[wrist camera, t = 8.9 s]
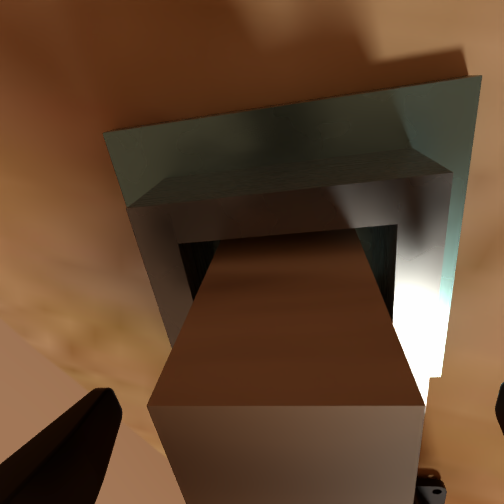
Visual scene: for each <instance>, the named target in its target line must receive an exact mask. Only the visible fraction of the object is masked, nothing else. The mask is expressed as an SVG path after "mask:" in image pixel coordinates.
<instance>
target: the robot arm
mask: <svg viewBox="0 0 504 504" xmlns="http://www.w3.org/2000/svg"><path fill="white" fill-rule="evenodd" d="M495 413H496V417H497V420H498V423H499V425H500V427H501V430H502V432H503V435H504V382H503V383H502V384H501V386H500V390H499V394H498V398H497V402H496V406H495ZM121 420H122V408H121V406H120V404H119V402H118V399H117V397H116V395H115V393H114V391H113V390H112V389H111V388H95V389H93V390H92V391H91V392H89V393H88V394H87V395H86V396H84V397H83V398H82V399H81V400H79V401H78V402H77V403H76V404H74V405H73V406H72V407H71V408H69V409H68V410H67V411H66V412H65V413H63V414H62V415H61V416H60V417H58V418H57V419H56V420H55V421H53V422H52V423H51V424H50V425H48V426H47V427H46V428H45V429H43V430H42V431H41V432H40V433H38V434H37V435H36V436H35V437H34V438H32V439H31V440H30V441H28V442H27V443H26V444H25V445H23V446H22V447H21V448H20V449H19V450H17V451H16V452H15V453H14V454H12V455H11V456H10V457H9V458H7V459H6V460H5V461H4V462H2V463H1V464H0V504H95V502H96V499H97V496H98V494H99V491H100V488H101V486H102V483H103V480H104V477H105V474H106V471H107V467H108V464H109V461H110V457H111V454H112V450H113V447H114V443H115V440H116V437H117V433H118V430H119V427H120V423H121ZM446 493H447V491H446V488H445V485H444V483H443V482H442V481H441V480H437V479H416V486H415V493H414V501H413V504H444V503H445V498H446Z"/></svg>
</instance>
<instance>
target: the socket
mask: <svg viewBox="0 0 504 504" xmlns="http://www.w3.org/2000/svg"><path fill="white" fill-rule="evenodd" d="M481 81H482V75H469V76H463V77H456V78H450V79H443V80H437V81H430V82H424V83H417V84H410V85H404V86H397V87H391V88H384V89H378V90H371V91H365V92H358V93H351V94H345V95H338V96H332V97H325V98H319V99H312V100H306V101H299V102H293V103H286V104H279V105H273V106H266V107H260V108H253V109H247V110H240V111H234V112H227V113H220V114H214V115H207V116H201V117H194V118H188V119H181V120H175V121H168V122H161V123H155V124H148V125H142V126H135V127H129V128H122V129H116V130H111V131H108V132H104V133H103V136H104V139H105V142H106V145H107V148H108V151H109V154H110V157H111V160H112V163H113V167H114V170H115V173H116V176H117V179H118V182H119V185H120V188H121V191H122V194H123V197H124V200H125V203H126V206H127V208H126V210H127V213H128V216H129V219H130V222H131V225H132V228H133V231H134V234H135V237H136V240H137V244H138V247H139V250H140V253H141V256H142V259H143V262H144V265H145V268H146V271H147V274H148V277H149V280H150V283H151V286H152V289H153V292H154V295H155V298H156V301H157V304H158V307H159V310H160V313H161V316H162V319H163V322H164V325H165V328H166V332H167V335H168V338H169V341H170V344H171V347H172V348H173V346H174V344H175V342H176V339H177V337H178V335H179V333H180V330H181V328H182V326H183V324H184V321H185V319H186V317H187V315H188V313H189V310H190V308H191V306H192V304H193V301H194V299H195V297H196V295H197V292H198V290H199V288H200V286H201V284H202V281H203V279H204V277H205V275H206V272H207V270H208V268H209V266H210V263H211V261H212V259H213V257H214V255H215V252H216V250H217V248H218V246H219V243H220V241H221V240H225V239H236V238H247V237H259V236H270V235H281V234H292V233H303V232H315V231H326V230H337V229H348V228H355V230H356V233H357V235H358V238H359V240H360V243H361V245H362V248H363V250H364V253H365V255H366V258H367V260H368V263H369V265H370V268H371V270H372V273H373V275H374V278H375V280H376V283H377V285H378V288H379V290H380V293H381V295H382V298H383V300H384V303H385V305H386V308H387V310H388V313H389V315H390V318H391V320H392V323H393V325H394V328H395V330H396V333H397V335H398V338H399V340H400V343H401V345H402V348H403V350H404V353H405V355H406V358H407V360H408V363H409V365H410V368H411V370H412V373H413V375H414V378H415V380H416V383H417V385H418V388H419V390H420V393H421V395H422V398H423V400H424V403H425V405H426V401H427V393H428V384H429V377H441V370H442V363H443V355H444V348H445V341H446V334H447V327H448V319H449V312H450V305H451V298H452V290H453V283H454V276H455V269H456V261H457V254H458V247H459V240H460V232H461V225H462V218H463V211H464V204H465V196H466V189H467V182H468V175H469V167H470V160H471V153H472V146H473V138H474V131H475V124H476V117H477V109H478V102H479V95H480V88H481ZM425 410H426V408H425Z"/></svg>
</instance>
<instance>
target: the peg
mask: <svg viewBox="0 0 504 504" xmlns="http://www.w3.org/2000/svg"><path fill="white" fill-rule="evenodd" d="M147 408H148V411H149V413H150V416H151V418H152V421H153V423H154V426H155V428H156V431H157V433H158V435H159V438H160V440H161V443H162V445H163V448H164V450H165V453H166V455H167V458H168V460H169V463H170V465H171V467H172V470H173V473H174V475H175V477H176V480H177V482H178V485H179V487H180V490H181V492H182V495H183V497H184V500H185V502H186V504H413V501H414V493H415V486H416V478H417V470H418V462H419V454H420V447H421V439H422V431H423V423H424V416H425V408H426V405H425V403H424V400H423V398H422V395H421V393H420V390H419V388H418V385H417V383H416V380H415V378H414V375H413V373H412V370H411V368H410V365H409V363H408V360H407V358H406V355H405V353H404V350H403V348H402V345H401V343H400V340H399V338H398V335H397V333H396V330H395V328H394V325H393V323H392V320H391V318H390V315H389V313H388V310H387V308H386V305H385V303H384V300H383V298H382V295H381V293H380V290H379V288H378V285H377V283H376V280H375V278H374V275H373V273H372V270H371V268H370V265H369V263H368V260H367V258H366V255H365V253H364V250H363V248H362V245H361V243H360V240H359V238H358V235H357V233H356V230H355V228H348V229H337V230H326V231H315V232H303V233H292V234H281V235H270V236H259V237H247V238H236V239H225V240H221V241H220V243H219V246H218V248H217V250H216V252H215V255H214V257H213V259H212V261H211V263H210V266H209V268H208V270H207V272H206V275H205V277H204V279H203V281H202V284H201V286H200V288H199V290H198V292H197V295H196V297H195V299H194V301H193V304H192V306H191V308H190V310H189V313H188V315H187V317H186V319H185V321H184V324H183V326H182V328H181V330H180V333H179V335H178V337H177V339H176V342H175V344H174V346H173V348H172V350H171V353H170V355H169V357H168V359H167V362H166V364H165V366H164V368H163V371H162V373H161V375H160V377H159V379H158V382H157V384H156V386H155V388H154V391H153V393H152V395H151V397H150V400H149V402H148V404H147Z"/></svg>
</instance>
